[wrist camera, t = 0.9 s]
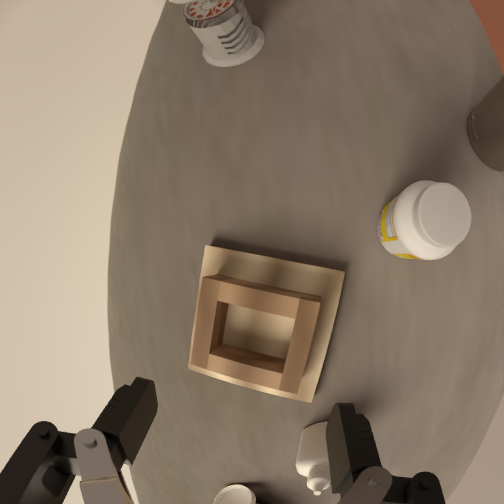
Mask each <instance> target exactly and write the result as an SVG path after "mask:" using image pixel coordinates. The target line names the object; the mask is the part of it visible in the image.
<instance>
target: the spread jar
mask: <svg viewBox="0 0 504 504" xmlns="http://www.w3.org/2000/svg"><path fill="white" fill-rule="evenodd" d="M214 504H263V503H260V502H258V501H256V497H255V494H254V493H253V492H252V491H251V490H250V489H249V488H247V487H245V486H243V485H238V484H236V485H230V486H228V487H226V488H224V489H223V490H221V491H220V492H219V493H218V495H217V496H216V498H215V501H214Z"/></svg>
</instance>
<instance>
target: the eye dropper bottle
mask: <svg viewBox="0 0 504 504" xmlns="http://www.w3.org/2000/svg"><path fill="white" fill-rule="evenodd" d="M327 423H328V421H326V422H320V423H316V424H313V425H311V426H309V427H307V428H305V429H304V430H303V431H302V435H301V440H300V445H299V449H298V454H297V459H296V468H297V471H298V473H299V474H301V475H303V476H307V477H308V480H307V486H308V488H310V489H311V490H313V491H314V494H315V495H320V494H321V492H322V490H325V489H327V488H328V487H329V486H330V483H331V477H330V468H329V459H328V451H327V443H326V426H327Z"/></svg>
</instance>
